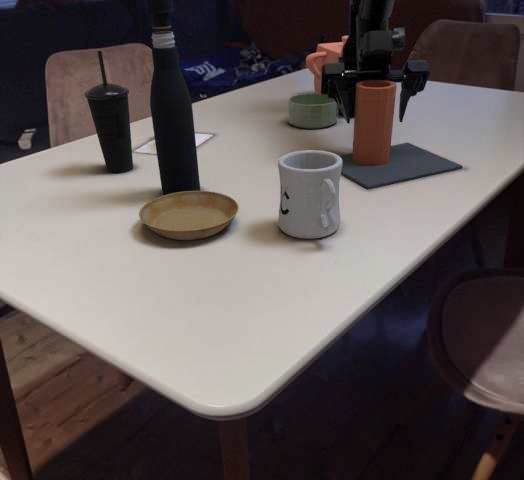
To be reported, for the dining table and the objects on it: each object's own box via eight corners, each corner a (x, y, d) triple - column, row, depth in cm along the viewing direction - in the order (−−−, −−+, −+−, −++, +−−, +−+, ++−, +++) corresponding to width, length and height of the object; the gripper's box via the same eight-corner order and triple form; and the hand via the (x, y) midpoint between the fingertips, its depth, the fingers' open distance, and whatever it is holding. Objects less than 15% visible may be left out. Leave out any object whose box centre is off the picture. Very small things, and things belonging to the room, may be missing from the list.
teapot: (295, 95, 152) (295, 35, 144) (372, 87, 157) (376, 28, 148) (324, 114, 136) (326, 48, 128) (408, 104, 141) (415, 39, 133)
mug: (269, 221, 88) (267, 154, 83) (323, 210, 91) (325, 145, 85) (302, 255, 79) (302, 183, 73) (361, 243, 81) (367, 172, 76)
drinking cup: (145, 161, 113) (127, 46, 101) (134, 175, 107) (114, 54, 95) (107, 161, 113) (85, 47, 102) (94, 175, 107) (69, 55, 96)
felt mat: (407, 144, 116) (407, 142, 116) (462, 168, 104) (462, 165, 104) (319, 162, 109) (319, 159, 109) (367, 189, 98) (368, 186, 97)
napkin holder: (182, 156, 115) (179, 126, 111) (132, 151, 118) (127, 122, 115) (214, 134, 126) (211, 106, 123) (167, 131, 129) (164, 103, 126)
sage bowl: (321, 113, 137) (322, 90, 134) (346, 124, 129) (348, 100, 126) (279, 120, 133) (279, 97, 130) (302, 132, 125) (303, 107, 122)
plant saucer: (259, 223, 88) (259, 207, 86) (182, 257, 80) (180, 239, 78) (197, 199, 97) (196, 183, 95) (122, 226, 88) (119, 210, 87)
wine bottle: (194, 201, 96) (171, -13, 78) (157, 200, 97) (126, -13, 79) (205, 187, 101) (185, -18, 83) (169, 186, 102) (143, -17, 84)
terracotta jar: (361, 151, 112) (366, 78, 104) (394, 156, 109) (402, 81, 101) (345, 162, 107) (349, 86, 100) (380, 167, 104) (387, 90, 97)
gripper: (323, 10, 98) (324, 96, 95) (435, 6, 97) (440, 93, 94) (319, 54, 109) (320, 132, 106) (421, 51, 108) (424, 129, 105)
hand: (374, 121), depth 103 cm, fingers open, 9 cm apart
